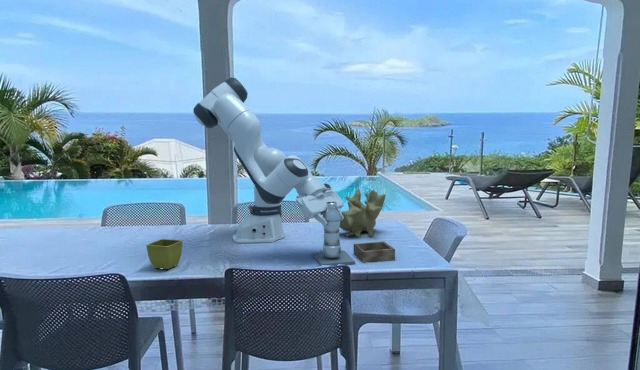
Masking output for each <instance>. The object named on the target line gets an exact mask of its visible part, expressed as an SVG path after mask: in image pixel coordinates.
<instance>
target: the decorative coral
mask: <svg viewBox="0 0 640 370" xmlns="http://www.w3.org/2000/svg"><path fill="white" fill-rule="evenodd" d="M364 196H365V198H366V200H365V201H364V203H363V202H361V199H362V193H361V190H360V188H357V189H356V190H355V193H354V195H353V196H352V197H351V196H349V195H346V196H345V200H346V201H347V205H348V209H347V210H346V211H345V210H343V211H342V210H341V213H342V215H343V217H344V219H343V220H342V221H340V227H339V229H342V230H343V231H349V232H347V233H346V237H347V238H349V237H351V236H355V237H357V238H359V237H361V233H362V232H364V231H365V232H367V233H368V236H369V238H371V237H373V235H374V234H373V233H374V232H375V231H376V228H375V227H376V223H377V221H376V220H377V218H378V217H379V215H380V213H381V211H382V210H383V206H384V204H385V203H384V202H385V200H386V193H384V194H380V195H379V194H378V192H377V191H376V190H374V189H371V190H370V191H369V192H365V194H364ZM350 231H351V232H350Z"/></svg>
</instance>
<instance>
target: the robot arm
mask: <svg viewBox="0 0 640 370" xmlns="http://www.w3.org/2000/svg"><path fill="white" fill-rule="evenodd" d="M247 99H248V91H247V88H246V86H245V85H244V83H243V82H242V81H241V80H239V79H237V78H236V77H232V76H231V77H229V78H227V79H225V80H224V82H221V83H220V84H218V85H217V86H215V87H214V88H213V89H212V90H210V92H209V93H208V94H206V96H204V97H203V98H202V100H200V102H198V103H196V105H195V106H193V107H194V108H193V111H192V112H193V114H194V118H195V119H196V121H197V122H198V123H199V125H201V126H203V127H205V128H207V129H212V128H215V127H217V126H218V125H219V126H220V127H221V129H222V130H223V131H224V133H225V134H226V135H227V136H228V138H229V139H230V140H231V141H232V142H233V144H234V147H233V151H234V154H235V156H236V158H237V159H238V161H239V163H240V165H241V166H242V168H243V169H244V170H245V172H246V174H247V175H248V177H249V178H250V180H251V183H252V184H253V185H254V188H253V194H254V195H253V198H254V204H253V205H251V204H250V205H248V210H249V215H248V216H246V217H245V218H244V219H243V220H242V221H240V223H239V224H238V227H237V231H236V233H234V234H233V235H232V241H233V242H234V243H237V244H238V243H239V244H242V243H243V244H247V243H248V244H249V243H273V242H276V241H278V240H281V239H283V238H285V237H286V233H285V232H284V228H283V223H282V215H283V212H282V211H283V210H282V209H283V208H282V204H281V203H282V201H283V200H284V199H285V198H286V196H288V194H290V192H291V191H292V190H293V189H295V190H296V193H297V194H298V195H297V196H296V198H295V201H296V203H297V206H298V208H299V210H300V211H301V213H302V215H303V216H304V218H305V219H307V220H311V219H313V218H314V219H315V220H316V221H317V222H319V223H321V225H322V226H323V227H324V226H326V225H327V224H328V223H329V222H328V221H327V219H324V218H323V217H322V216H323V214H324V212H325V211H326V209H327V208H326V202H337V208H336V210H337V211H338V212H339V214H340V217H341V220H340V221H342V220H343V219H344V217H343V215H342V213H341V211H342V210H341V209H342V208H343V207H344V201H343V200H342V198H341V197H340V195H339V194H338V193H337V192H336V191H335V190H334V189H333V185H331V184H330V183H326V182H322V181H319V180H318V179H317V177H315V176H314V175H313V173H312V171H311V169H310V168H309V167H308V166H307V165H306V164H305V162H304V161H303V160H302V159H301V158H300V157H299V156H297V155H295V154H291V155H288V156H286V154H285V153H284V152H283V151H281V150H280V149H278V148H276V147H275V148H274V147H268V146H267V145H266V143H265V142H264V140H263V138H262V136H261V130H262V127H261V121H260V120H259V118H258V117H257V116H256V114H255V113H254V112H253V111H252V110H251V109H250V108H249V106H248V105H247V104H245V102H246V101H247Z"/></svg>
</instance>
